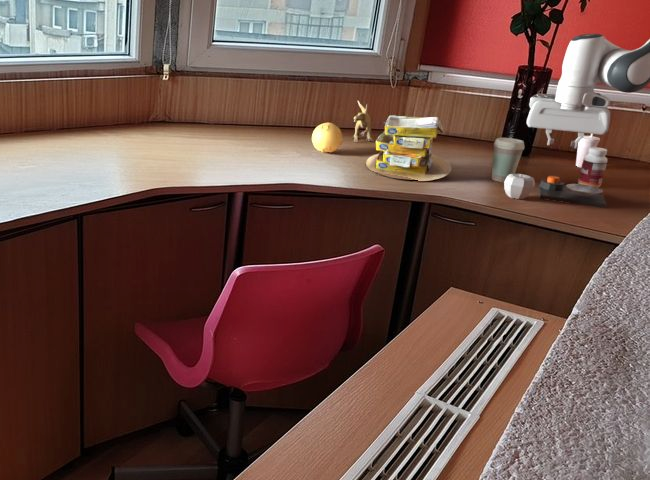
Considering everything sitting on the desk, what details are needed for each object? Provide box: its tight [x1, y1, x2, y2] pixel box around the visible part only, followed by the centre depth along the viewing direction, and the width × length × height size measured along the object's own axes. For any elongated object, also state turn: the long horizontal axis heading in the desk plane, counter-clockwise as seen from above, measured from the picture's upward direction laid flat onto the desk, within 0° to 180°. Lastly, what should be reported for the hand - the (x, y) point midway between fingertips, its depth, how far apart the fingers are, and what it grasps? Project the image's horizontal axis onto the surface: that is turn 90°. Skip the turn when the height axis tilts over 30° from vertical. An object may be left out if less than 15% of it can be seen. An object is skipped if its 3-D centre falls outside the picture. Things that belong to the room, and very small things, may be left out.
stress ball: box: [311, 122, 343, 153], centre depth 238 cm, size 10×10×10 cm
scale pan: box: [565, 183, 604, 195], centre depth 196 cm, size 9×9×1 cm
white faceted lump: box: [503, 173, 536, 200], centre depth 196 cm, size 8×8×7 cm
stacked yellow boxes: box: [365, 114, 452, 182], centre depth 217 cm, size 25×25×17 cm
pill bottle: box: [577, 147, 608, 188], centre depth 211 cm, size 6×6×11 cm
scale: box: [538, 178, 607, 209], centre depth 200 cm, size 16×14×3 cm
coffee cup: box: [491, 137, 525, 183], centre depth 213 cm, size 8×8×12 cm
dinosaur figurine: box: [350, 100, 374, 143], centre depth 259 cm, size 8×26×13 cm, turn 165°
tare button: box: [546, 175, 560, 184], centre depth 203 cm, size 3×3×2 cm
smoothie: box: [575, 133, 601, 169], centre depth 233 cm, size 6×6×14 cm
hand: (561, 146), depth 200 cm, fingers open, 4 cm apart
